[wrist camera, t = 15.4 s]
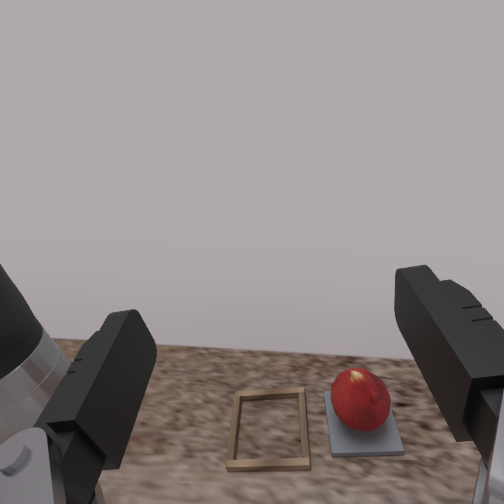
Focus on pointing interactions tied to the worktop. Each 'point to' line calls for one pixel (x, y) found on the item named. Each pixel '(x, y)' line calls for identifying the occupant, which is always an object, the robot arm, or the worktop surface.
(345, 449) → the coaster
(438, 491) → the worktop surface
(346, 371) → the onion
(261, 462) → the square wooden frame
